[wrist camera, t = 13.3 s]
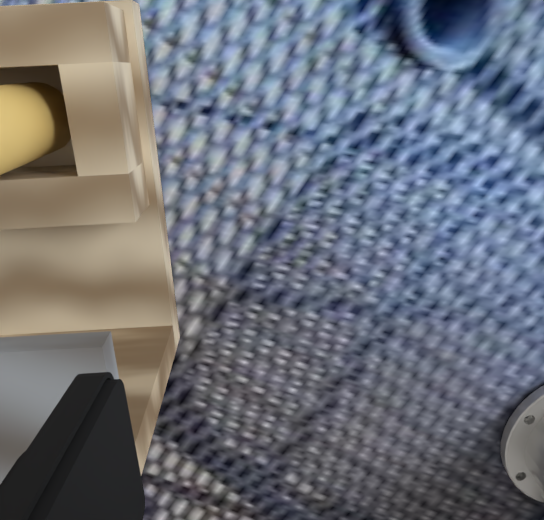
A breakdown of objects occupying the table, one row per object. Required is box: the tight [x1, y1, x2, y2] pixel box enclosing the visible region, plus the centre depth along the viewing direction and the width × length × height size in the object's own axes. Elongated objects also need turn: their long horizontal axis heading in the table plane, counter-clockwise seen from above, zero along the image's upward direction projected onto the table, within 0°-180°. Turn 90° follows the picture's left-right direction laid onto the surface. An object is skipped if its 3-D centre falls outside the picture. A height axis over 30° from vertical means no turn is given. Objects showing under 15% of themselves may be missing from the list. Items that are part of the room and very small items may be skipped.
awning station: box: [0, 0, 180, 484], centre depth 26 cm, size 22×13×17 cm, turn 3°
